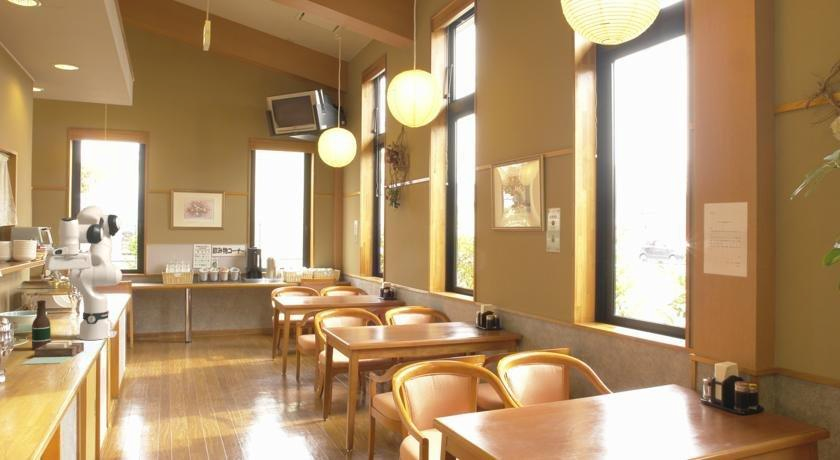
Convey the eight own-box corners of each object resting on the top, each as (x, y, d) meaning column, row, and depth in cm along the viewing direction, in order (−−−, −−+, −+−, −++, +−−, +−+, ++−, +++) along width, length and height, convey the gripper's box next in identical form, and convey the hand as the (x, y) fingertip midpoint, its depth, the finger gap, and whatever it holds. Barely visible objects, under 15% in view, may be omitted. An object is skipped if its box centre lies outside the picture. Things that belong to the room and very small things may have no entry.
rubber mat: (34, 358, 273) (34, 357, 273) (71, 357, 276) (71, 356, 276) (21, 364, 261) (21, 363, 261) (60, 363, 264) (60, 362, 264)
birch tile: (53, 344, 284) (53, 340, 284) (71, 344, 286) (71, 340, 286) (45, 348, 276) (45, 344, 276) (64, 347, 278) (64, 343, 278)
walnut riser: (48, 351, 287) (48, 343, 287) (83, 350, 290) (83, 342, 290) (34, 358, 274) (34, 349, 274) (72, 357, 276) (72, 348, 276)
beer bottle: (54, 347, 297) (54, 299, 297) (42, 350, 289) (42, 301, 289) (39, 347, 298) (39, 299, 297) (28, 350, 290) (28, 301, 290)
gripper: (88, 249, 300) (88, 276, 300) (43, 250, 284) (43, 279, 284) (94, 250, 296) (93, 277, 297) (48, 251, 280) (48, 280, 280)
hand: (68, 278), depth 290 cm, fingers open, 8 cm apart
